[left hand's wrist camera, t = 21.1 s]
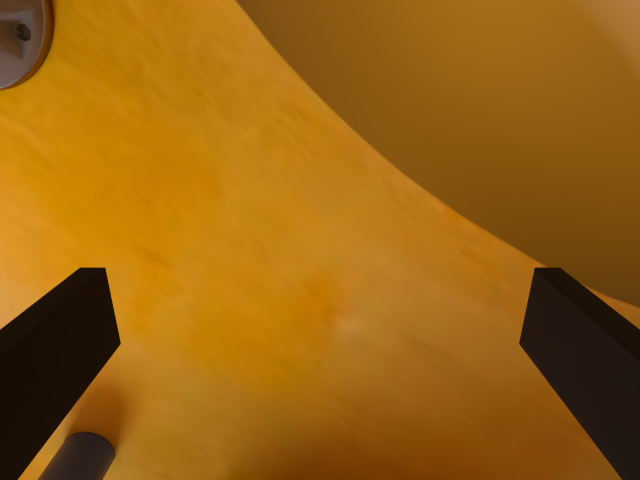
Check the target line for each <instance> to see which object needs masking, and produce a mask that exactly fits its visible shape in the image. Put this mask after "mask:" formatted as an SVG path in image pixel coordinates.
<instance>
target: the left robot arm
mask: <svg viewBox="0 0 640 480" xmlns="http://www.w3.org/2000/svg"><path fill="white" fill-rule="evenodd" d="M52 35H53V11H52V4H51V0H0V90H5V89H10V88H13V87H15V86H18V85H20V84H22V83H24V82H25V81H27V80H28V79H29V78H31V77H32V76H33V75H34V74H35V73H36V72H37V71H38V69H39V68H40V67H41V65H42V64H43V62H44V60H45V58H46V56H47V54H48V52H49V49H50V45H51V41H52ZM120 344H121V342H120V337H119V333H118V328H117V323H116V318H115V313H114V308H113V303H112V298H111V294H110V289H109V284H108V279H107V274H106V269H105V268H79V269H78V270H76V271H75V272H74V273H73V274H71V275H70V276H69V277H67V278H66V279H65V280H64V281H62V282H61V283H60V284H58V285H57V286H56V287H55V288H53V289H52V290H51V291H49V292H48V293H47V294H46V295H44V296H43V297H42V298H40V299H39V300H38V301H37V302H35V303H34V304H33V305H31V306H30V307H29V308H28V309H26V310H25V311H24V312H22V313H21V314H20V315H19V316H17V317H16V318H15V319H13V320H12V321H11V322H9V323H8V324H7V325H6V326H4V327H3V328H2V329H0V480H18V479H19V477H20V476H21V475H22V473H23V472H24V471H25V469H26V468H27V467H28V465H29V464H30V463H31V461H32V460H33V459H34V457H35V456H36V455H37V453H38V452H39V451H40V450H41V448H42V447H43V446H44V444H45V443H46V442H47V440H48V439H49V438H50V436H51V435H52V434H53V432H54V431H55V430H56V428H57V427H58V426H59V425H60V423H61V422H62V421H63V419H64V418H65V417H66V415H67V414H68V413H69V411H70V410H71V409H72V407H73V406H74V405H75V403H76V402H77V401H78V400H79V398H80V397H81V396H82V394H83V393H84V392H85V390H86V389H87V388H88V386H89V385H90V384H91V382H92V381H93V380H94V378H95V377H96V376H97V374H98V373H99V372H100V371H101V369H102V368H103V367H104V365H105V364H106V363H107V361H108V360H109V359H110V357H111V356H112V355H113V353H114V352H115V351H116V349H117V348H118V347H119V346H120ZM519 344H520V346H521V347H522V348H523V349H524V351H525V352H526V353H527V355H528V356H529V357H530V359H531V360H532V361H533V363H534V364H535V365H536V367H537V368H538V369H539V371H540V372H541V373H542V374H543V376H544V377H545V378H546V380H547V381H548V382H549V384H550V385H551V386H552V388H553V389H554V390H555V392H556V393H557V394H558V396H559V397H560V398H561V400H562V401H563V402H564V403H565V405H566V406H567V407H568V409H569V410H570V411H571V413H572V414H573V415H574V417H575V418H576V419H577V421H578V422H579V423H580V425H581V426H582V427H583V428H584V430H585V431H586V432H587V434H588V435H589V436H590V438H591V439H592V440H593V442H594V443H595V444H596V446H597V447H598V448H599V450H600V451H601V452H602V453H603V455H604V456H605V457H606V459H607V460H608V461H609V463H610V464H611V465H612V467H613V468H614V469H615V471H616V472H617V473H618V475H619V476H620V477H621V479H622V480H640V329H638V328H637V327H636V326H634V325H633V324H632V323H631V322H629V321H628V320H627V319H625V318H624V317H623V316H621V315H620V314H619V313H618V312H616V311H615V310H614V309H612V308H611V307H610V306H609V305H607V304H606V303H605V302H603V301H602V300H601V299H600V298H598V297H597V296H596V295H594V294H593V293H592V292H591V291H589V290H588V289H587V288H585V287H584V286H583V285H582V284H580V283H579V282H578V281H576V280H575V279H574V278H573V277H571V276H570V275H569V274H567V273H566V272H565V271H564V270H562V269H561V268H535V269H534V274H533V279H532V284H531V289H530V294H529V298H528V303H527V308H526V313H525V318H524V323H523V328H522V333H521V337H520V342H519Z"/></svg>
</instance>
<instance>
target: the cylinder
mask: <svg viewBox="0 0 640 480" xmlns="http://www.w3.org/2000/svg"><path fill="white" fill-rule="evenodd" d="M113 459H114V450H113V448H112V446H111V445H110V443H109V442H108V441H107V440H105V439H104V438H102V437H101V436H99V435H96V434H93V433H87V432H81V433H76V434H73V435H71V436H70V437H68V438H67V439H66V440H65V442H64V443H63V445H62V446H61V448H60V449H59V450H58V452H57V453H56V455H55V456H54V457H53V459H52V460H51V462H50V463H49V464H48V466H47V467H46V469H45V470H44V471H43V473H42V474H41V476H40V477H39V479H38V480H103V478H104V476H105V474H106V472H107V471H108V469H109V467H110V465H111V463H112V461H113Z"/></svg>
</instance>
